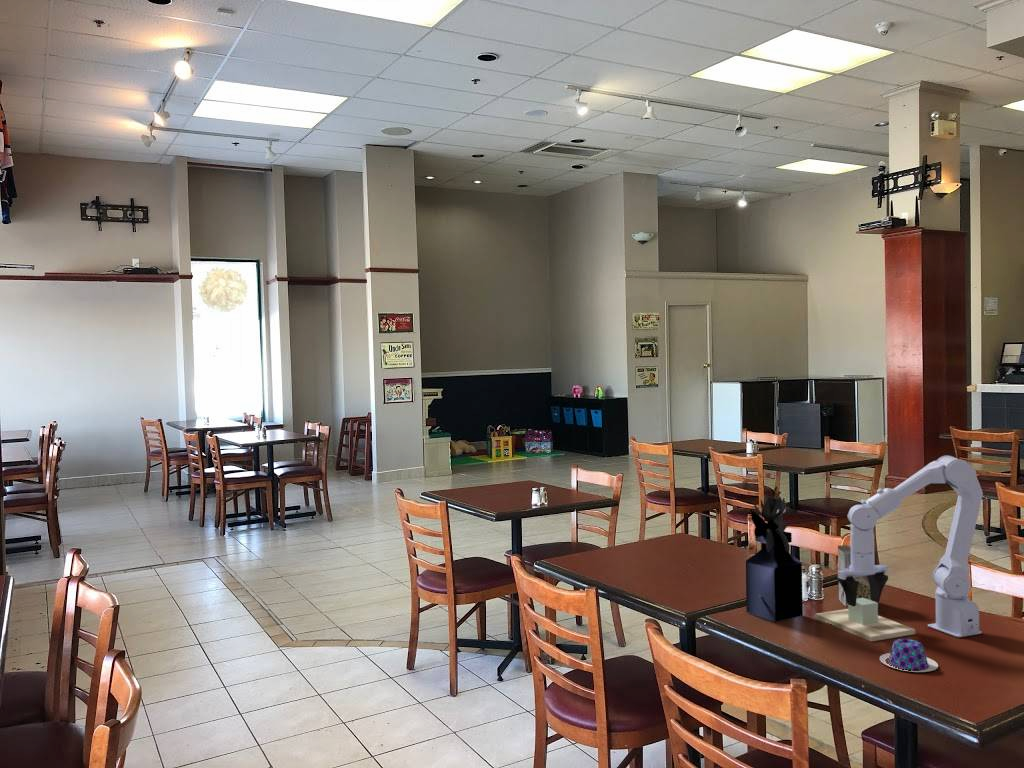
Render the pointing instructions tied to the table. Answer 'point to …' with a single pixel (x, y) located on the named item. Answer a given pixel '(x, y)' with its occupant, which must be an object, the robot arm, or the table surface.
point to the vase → (773, 567)
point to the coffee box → (863, 586)
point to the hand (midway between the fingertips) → (863, 603)
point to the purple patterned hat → (909, 656)
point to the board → (866, 626)
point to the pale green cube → (863, 612)
